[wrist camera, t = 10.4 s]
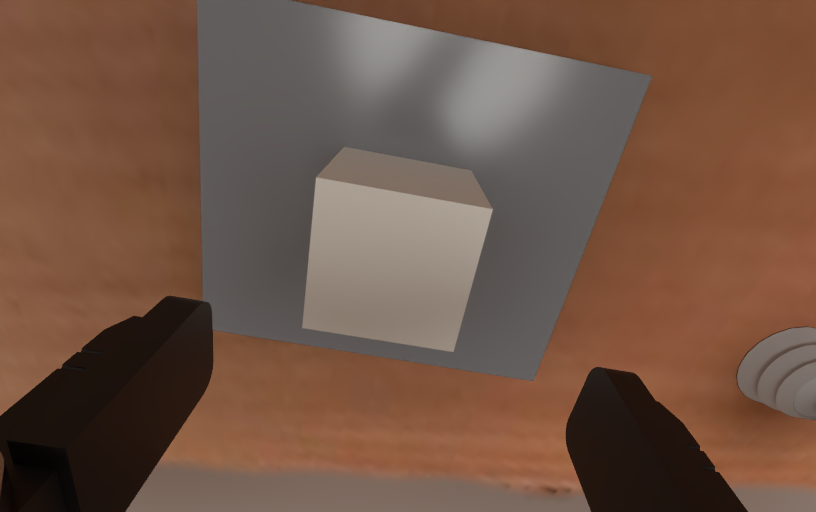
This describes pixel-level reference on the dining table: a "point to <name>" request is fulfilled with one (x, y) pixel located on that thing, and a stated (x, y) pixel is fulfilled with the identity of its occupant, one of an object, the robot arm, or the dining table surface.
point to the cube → (393, 249)
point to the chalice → (783, 372)
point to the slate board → (403, 137)
